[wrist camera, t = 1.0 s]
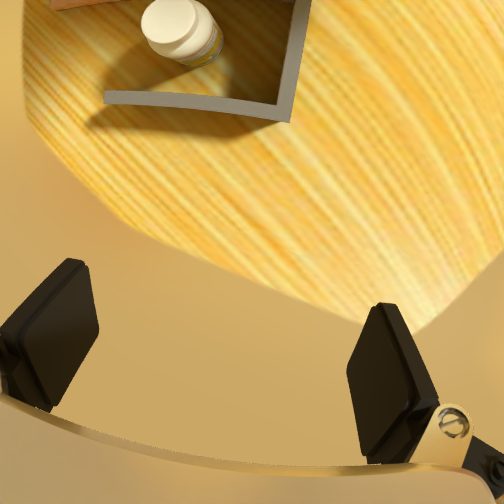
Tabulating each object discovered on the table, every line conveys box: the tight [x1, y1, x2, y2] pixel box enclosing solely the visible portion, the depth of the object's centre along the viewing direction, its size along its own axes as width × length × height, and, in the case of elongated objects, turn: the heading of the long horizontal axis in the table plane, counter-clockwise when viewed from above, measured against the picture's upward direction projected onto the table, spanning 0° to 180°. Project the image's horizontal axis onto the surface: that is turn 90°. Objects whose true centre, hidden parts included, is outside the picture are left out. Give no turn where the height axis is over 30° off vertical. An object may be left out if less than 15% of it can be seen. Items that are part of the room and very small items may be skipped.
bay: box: [103, 0, 312, 123], centre depth 23 cm, size 13×16×6 cm
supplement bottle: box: [141, 0, 224, 67], centre depth 21 cm, size 5×5×10 cm
